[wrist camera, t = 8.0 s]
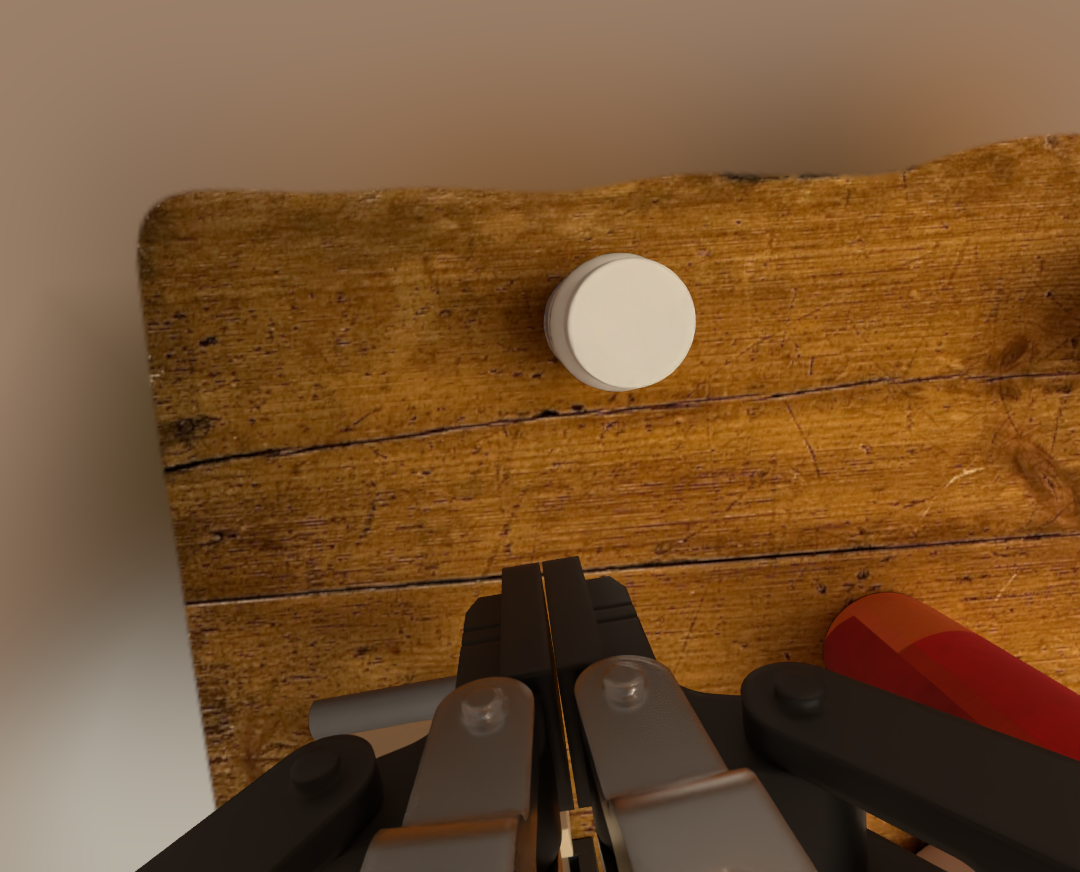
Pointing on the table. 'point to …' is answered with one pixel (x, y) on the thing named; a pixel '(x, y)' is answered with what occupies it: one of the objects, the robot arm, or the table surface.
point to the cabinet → (583, 856)
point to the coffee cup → (950, 670)
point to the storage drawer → (396, 723)
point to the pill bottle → (620, 322)
